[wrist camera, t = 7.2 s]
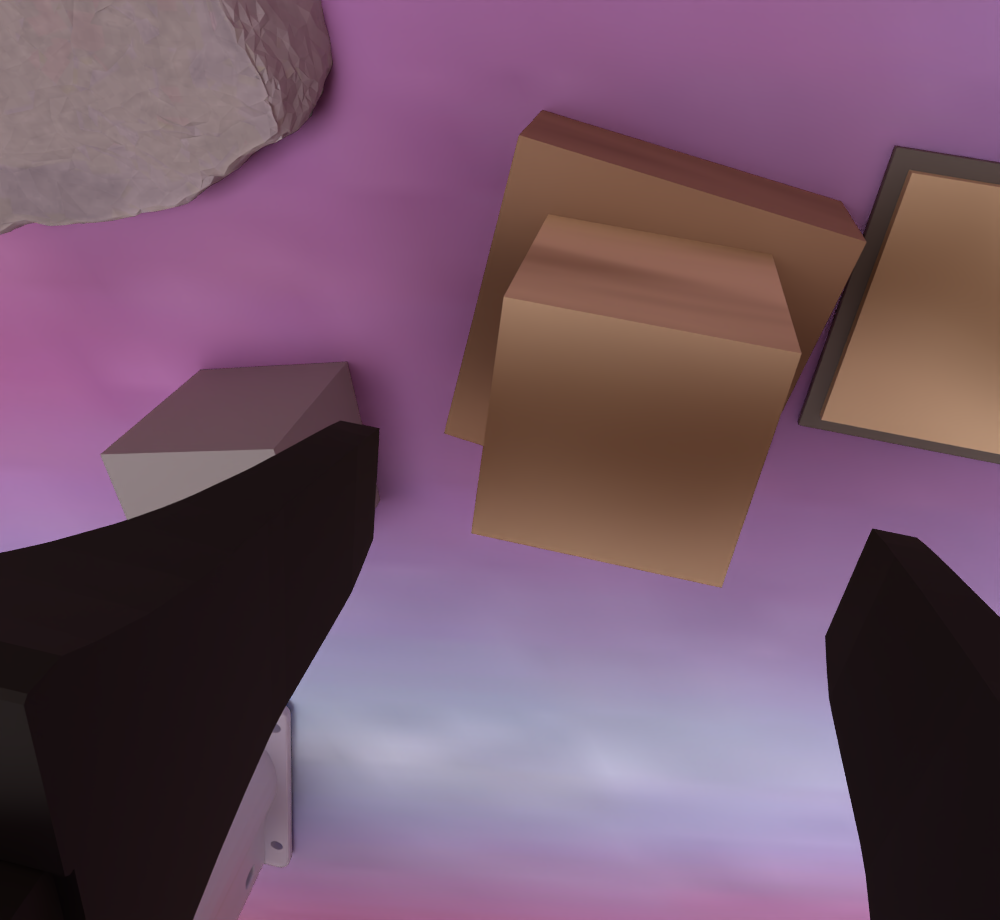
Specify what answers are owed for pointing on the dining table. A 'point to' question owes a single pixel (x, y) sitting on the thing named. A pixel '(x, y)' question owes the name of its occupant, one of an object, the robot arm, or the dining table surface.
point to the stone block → (145, 99)
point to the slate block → (225, 429)
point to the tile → (920, 315)
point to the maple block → (634, 398)
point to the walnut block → (651, 230)
